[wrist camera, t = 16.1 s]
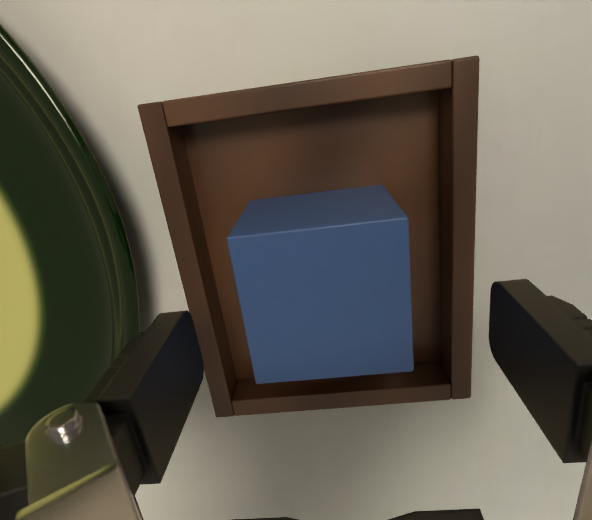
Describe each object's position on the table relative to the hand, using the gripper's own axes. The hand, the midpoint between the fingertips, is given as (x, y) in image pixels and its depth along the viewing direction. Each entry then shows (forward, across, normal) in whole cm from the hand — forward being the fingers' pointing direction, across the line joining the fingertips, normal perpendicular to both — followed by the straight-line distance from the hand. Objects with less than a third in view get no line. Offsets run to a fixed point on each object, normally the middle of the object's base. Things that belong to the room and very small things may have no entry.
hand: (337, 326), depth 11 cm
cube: (+5, 0, 0) cm, 6 cm away
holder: (+6, 0, 0) cm, 7 cm away
